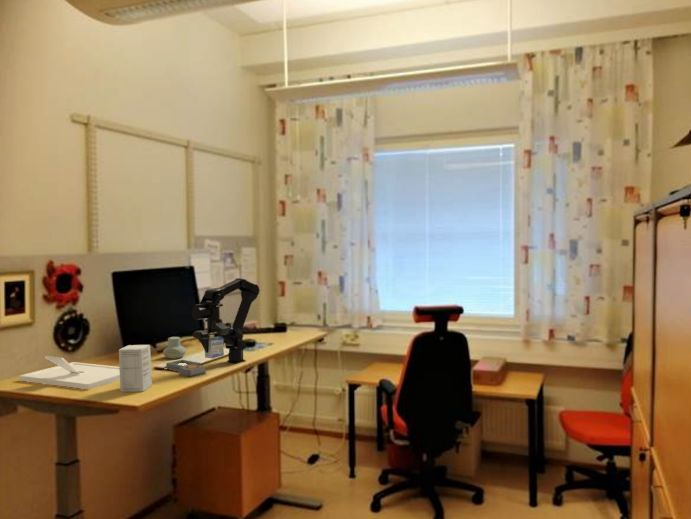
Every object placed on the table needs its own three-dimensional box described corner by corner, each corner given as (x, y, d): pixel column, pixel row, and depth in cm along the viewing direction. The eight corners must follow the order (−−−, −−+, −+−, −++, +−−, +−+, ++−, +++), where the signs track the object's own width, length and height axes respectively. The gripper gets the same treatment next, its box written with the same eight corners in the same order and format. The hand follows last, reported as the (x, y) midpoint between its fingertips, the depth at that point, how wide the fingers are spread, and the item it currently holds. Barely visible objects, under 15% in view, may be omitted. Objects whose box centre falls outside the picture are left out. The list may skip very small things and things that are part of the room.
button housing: (194, 371, 256) (193, 364, 256) (205, 373, 251) (205, 366, 251) (179, 374, 250) (178, 367, 250) (190, 377, 245) (190, 370, 245)
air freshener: (161, 359, 281) (160, 339, 281) (166, 356, 290) (165, 336, 289) (183, 359, 282) (183, 339, 281) (187, 355, 290) (187, 336, 290)
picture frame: (88, 391, 227) (139, 375, 252) (87, 360, 226) (138, 347, 251) (19, 382, 243) (73, 368, 268) (18, 353, 242) (72, 342, 267)
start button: (193, 369, 253) (193, 365, 253) (198, 370, 251) (198, 366, 251) (186, 371, 250) (186, 366, 250) (191, 372, 248) (191, 368, 248)
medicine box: (211, 358, 258) (211, 339, 258) (204, 357, 260) (204, 338, 260) (224, 355, 265) (223, 336, 264) (217, 354, 267) (216, 336, 267)
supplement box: (152, 385, 232) (151, 344, 231) (143, 391, 223) (142, 349, 222) (129, 385, 232) (128, 344, 232) (119, 392, 223) (118, 349, 222)
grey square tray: (184, 363, 271) (184, 358, 271) (203, 367, 263) (203, 362, 263) (163, 368, 262) (162, 363, 262) (182, 372, 253) (181, 367, 253)
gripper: (208, 321, 249) (209, 356, 250) (240, 315, 264) (241, 349, 265) (192, 319, 256) (193, 353, 257) (224, 314, 271) (225, 346, 272)
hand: (214, 350), depth 262 cm, fingers closed on medicine box, 8 cm apart
